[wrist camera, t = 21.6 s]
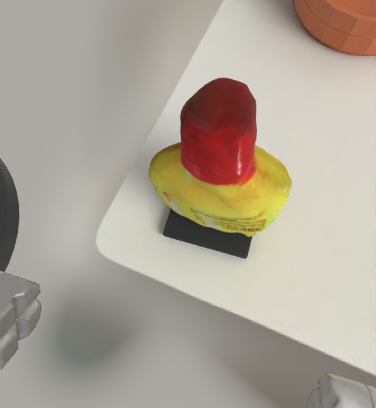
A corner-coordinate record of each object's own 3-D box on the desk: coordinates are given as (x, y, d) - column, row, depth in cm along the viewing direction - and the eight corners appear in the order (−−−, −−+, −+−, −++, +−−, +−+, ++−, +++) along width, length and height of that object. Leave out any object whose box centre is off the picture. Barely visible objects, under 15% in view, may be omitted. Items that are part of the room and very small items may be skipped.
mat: (163, 235, 36) (162, 234, 35) (187, 161, 39) (186, 157, 38) (245, 258, 35) (247, 257, 34) (264, 180, 38) (266, 177, 37)
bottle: (152, 220, 36) (95, 122, 17) (169, 166, 37) (135, 21, 18) (263, 249, 34) (342, 180, 15) (276, 192, 36) (360, 65, 17)
